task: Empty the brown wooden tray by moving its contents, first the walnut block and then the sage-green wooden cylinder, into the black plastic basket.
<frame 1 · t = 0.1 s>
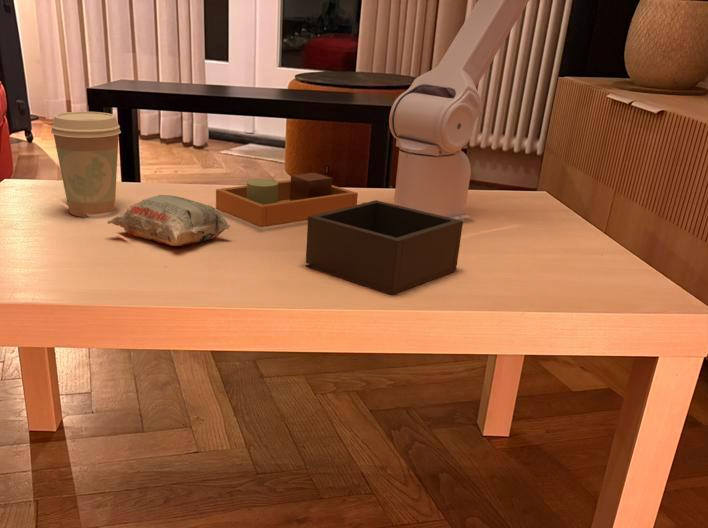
packaged food: (168, 243, 90), on the table
brown wooden tray: (286, 213, 103), on the table
green cylinder: (261, 213, 101), resting on brown wooden tray
coffee cup: (92, 213, 101), on the table
walnut block: (309, 206, 105), resting on brown wooden tray
black basket: (380, 268, 83), on the table
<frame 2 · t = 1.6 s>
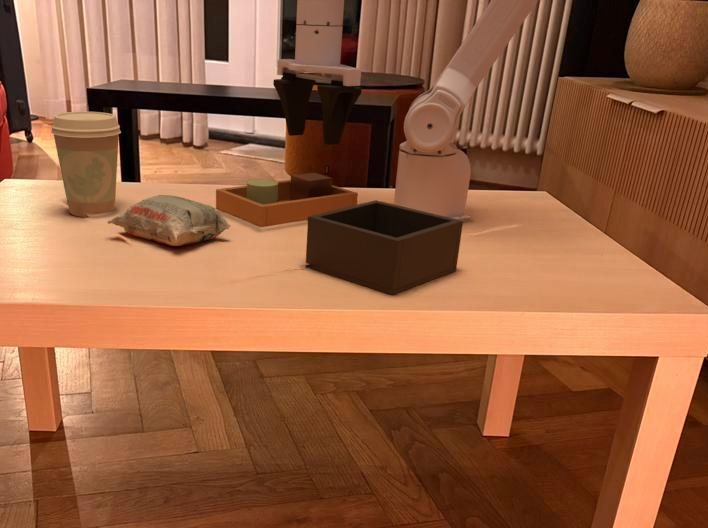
hand: (313, 139, 101), 9 cm above the table, tool pointing down, fingers open, 7 cm apart
nothing on the table moved.
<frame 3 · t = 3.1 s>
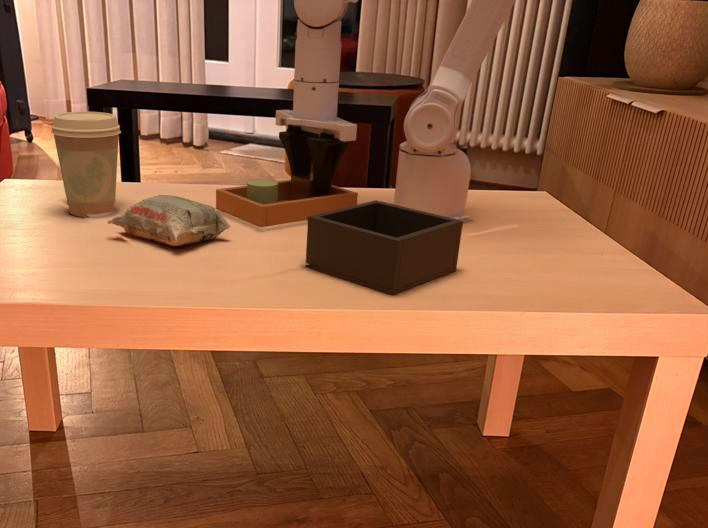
hand: (310, 188, 104), 3 cm above the table, tool pointing down, fingers closed on walnut block, 4 cm apart
walnut block: (310, 206, 105), resting on brown wooden tray, touching gripper
everything else where it was.
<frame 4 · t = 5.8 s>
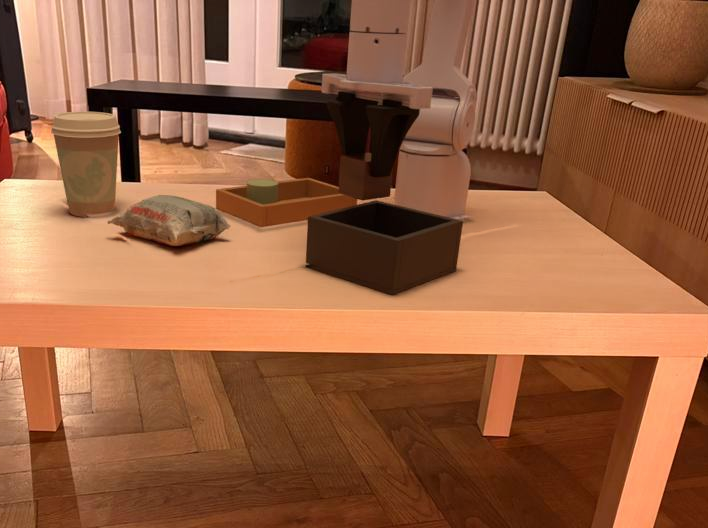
hand: (366, 172, 82), 9 cm above the table, tool pointing down, fingers closed on walnut block, 4 cm apart
walnut block: (364, 194, 83), point 7 cm above the table, touching gripper
everything else where it was.
when the fingers open (4 cm above the table, at t = 8.3 s): walnut block drops 1 cm, resting on black basket.
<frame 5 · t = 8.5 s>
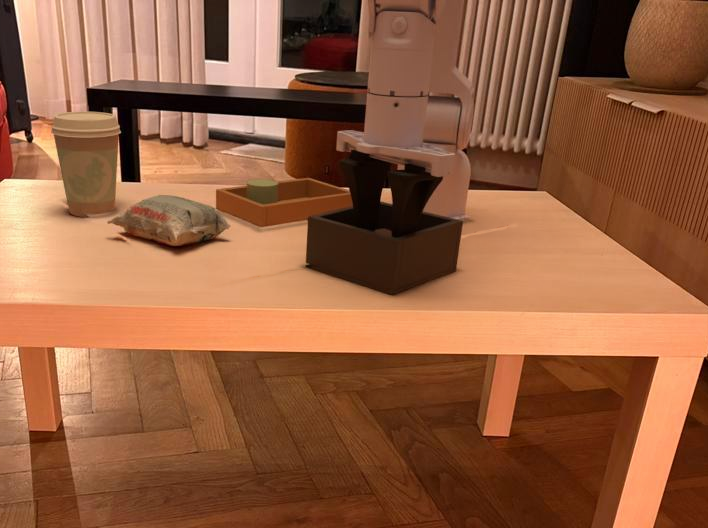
hand: (383, 234, 79), 5 cm above the table, tool pointing down, fingers open, 5 cm apart
walnut block: (379, 272, 81), resting on black basket
everything else where it was.
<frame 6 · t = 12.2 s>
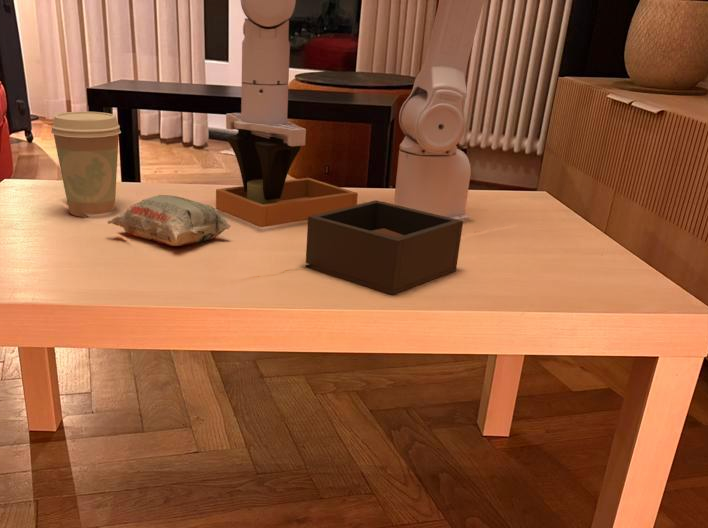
hand: (262, 195, 100), 3 cm above the table, tool pointing down, fingers closed on green cylinder, 4 cm apart
green cylinder: (261, 213, 101), point 1 cm above the table, touching brown wooden tray, gripper
everything else where it was.
when the fingers open (4 cm above the table, at t = 16.9 s): green cylinder drops 1 cm, resting on black basket.
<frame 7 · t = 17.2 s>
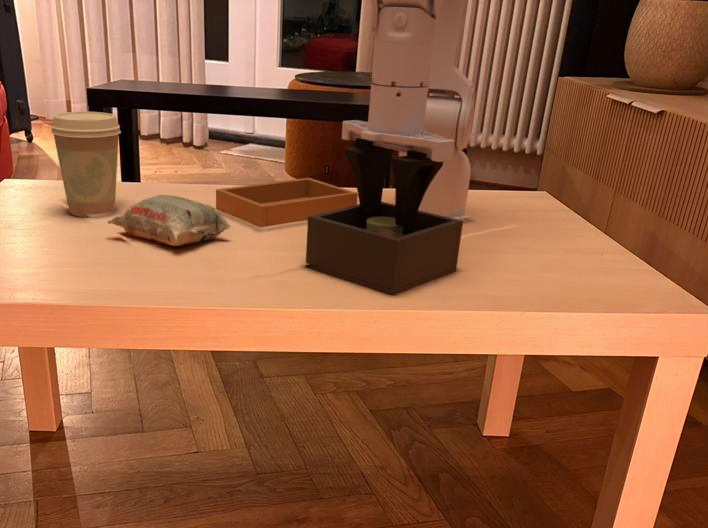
hand: (386, 218, 84), 5 cm above the table, tool pointing down, fingers open, 5 cm apart
green cylinder: (381, 256, 86), point 1 cm above the table, touching black basket
everything else where it was.
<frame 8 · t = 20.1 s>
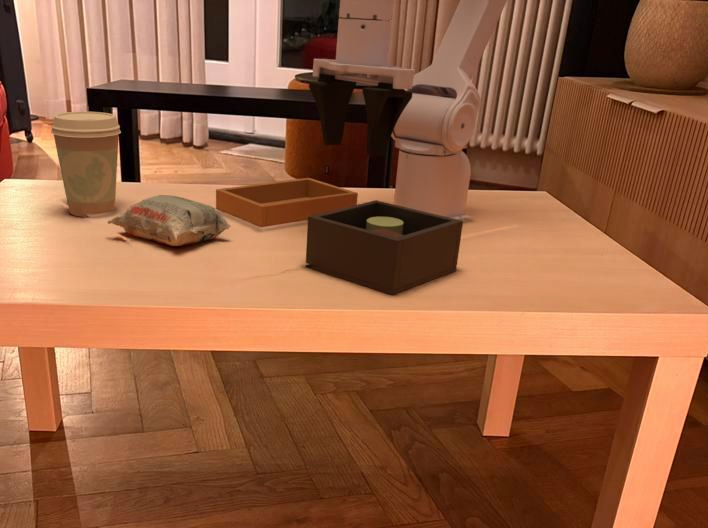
hand: (353, 150, 89), 10 cm above the table, tool pointing down, fingers open, 7 cm apart
nothing on the table moved.
at the end: walnut block inside the target area in the black basket (2.9 cm from its centre), point 0.5 cm above the black basket's base; green cylinder inside the target area in the black basket (2.8 cm from its centre), point 0.5 cm above the black basket's base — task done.
